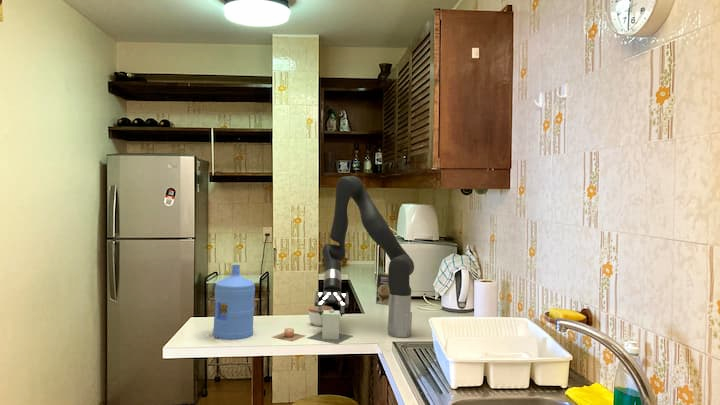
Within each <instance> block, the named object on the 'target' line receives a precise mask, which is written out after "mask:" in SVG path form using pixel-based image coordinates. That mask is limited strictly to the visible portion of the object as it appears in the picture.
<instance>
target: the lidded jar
mask: <svg viewBox="0 0 720 405" xmlns="http://www.w3.org/2000/svg"><path fill="white" fill-rule="evenodd" d="M318 308H319V307H318V306H315V305H312V306H311V305H310V306H309V307H308V318H309V320H310V322H311V324H312V325H313V326H315V327H323V311H324V310H330V309H333V310H334V308H333V306H329V305H323V306H322V315H320V314H319V313H318Z"/></svg>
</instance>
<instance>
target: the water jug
mask: <svg viewBox="0 0 720 405" xmlns="http://www.w3.org/2000/svg"><path fill="white" fill-rule="evenodd" d="M231 267H232V268H231V275H229V276H228V277H225V278H223V279H221V280H219V281H217V282H216V283H215V286H214V301H215V308H214V310H215V311H214V312H215V314H214V317H213V329H212V335H213V337H215V338H217V339H219V340H220V339H221V340H242V339H246V338H249V337H251V336H252V335H253V334H254V314H255V293H256V286H255V285H256V284H255V282H254V281H252V280H250V279H248V278H246V277H244V276H242V275H241V274H240V272H241V269H240V267H241V265H240V264H232V265H231ZM221 304H226V305H227V306H226V307H227V308H226V312H225V313H221Z"/></svg>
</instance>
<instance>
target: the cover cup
mask: <svg viewBox="0 0 720 405" xmlns="http://www.w3.org/2000/svg"><path fill="white" fill-rule="evenodd" d="M340 319H341V310H335V309H334V308H333V309H330V310H324V311H323V326H322V330H321V332H322V339H337V340H339V333H340Z"/></svg>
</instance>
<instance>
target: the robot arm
mask: <svg viewBox="0 0 720 405" xmlns="http://www.w3.org/2000/svg"><path fill="white" fill-rule="evenodd" d="M335 188H336V189H335V203H334V211H333V212H334V213H333V219H332V220H333V221H332V225H331V228H330V234H329V238H330V240H331V241H334V242H336V243H338V244H333V243H326V244H325V245H324V246H323V247H322V251H321V253H322V259H323V262H324V268H325V269H324V276H323V290H322V292H319V291H318V290H317V291H315V296H314V306H318V307H319V308H318V313H319V314H320V315H322V306H326V304H337V305H338V306H339V307H340V317H343V316H345V308H349V304H350V301H349V292H345V293H342V264H341V261H343V260H345V258H346V245H345V244H346V237H347V236H346V235H347V231H348V226H349V216H348V215H349V214H348V205H349V202H350V199H353V201H354V202H355V205H356V206H357V207H358V210H359V214H360V215H359V216H360V219H361V223H362V226H363V227H364V229H365V231H366V232H367V234H368V236H369V237H370V238H371V239H372V240H373V242H375V243H376V245H378V246H379V247H380V248H381V250H383V251H384V252H385V253H386V255H387V257H388V258H389V260H390V262H389V264H388V269H387V270H388V272H387V274H388V286H389V305H388V316H387V317H388V318H387V320H388V321H387V335H388V336H391V337H393V338H406V339H407V338H408V337H409V336H411V335H412V325H413V324H412V323H413V322H412V321H413V312H412V311H411V309H412V308H411V307H412V306H411V305H412V304H411V303H412V288H411V286H410V285H411V284H410V276H411V275H412V274H413V272H414V270H415V262H414V261H413V259H412V257H411V256H410V255H409V254H408V253H407V251H406V250H405V248H403V247H402V245H401V244H400V242H399V241H398V240H397V237H396V236H395V234H394V233H393V231H392V229H391V228H390V226H389V224H388V223H387V221H386V220H385V219H384V216H383V215H382V214H381V213H380V211H379V210H378V208H377V206H376V204H375V203H374V202H373V200H372V199H371V197H370V195H369V193H368V191H367V189H366V188H365V185H364V183H363V182H362V180H361V179H360V178H359V177H357V176H355V175H348V176H347V175H346V176H342V177H340V178H339V179H338V181H337V183H336V187H335ZM321 297H322V299H321V300H320V301H319V299H320V298H321ZM342 298H343V299H344V301H345V302H343V300H342Z"/></svg>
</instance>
